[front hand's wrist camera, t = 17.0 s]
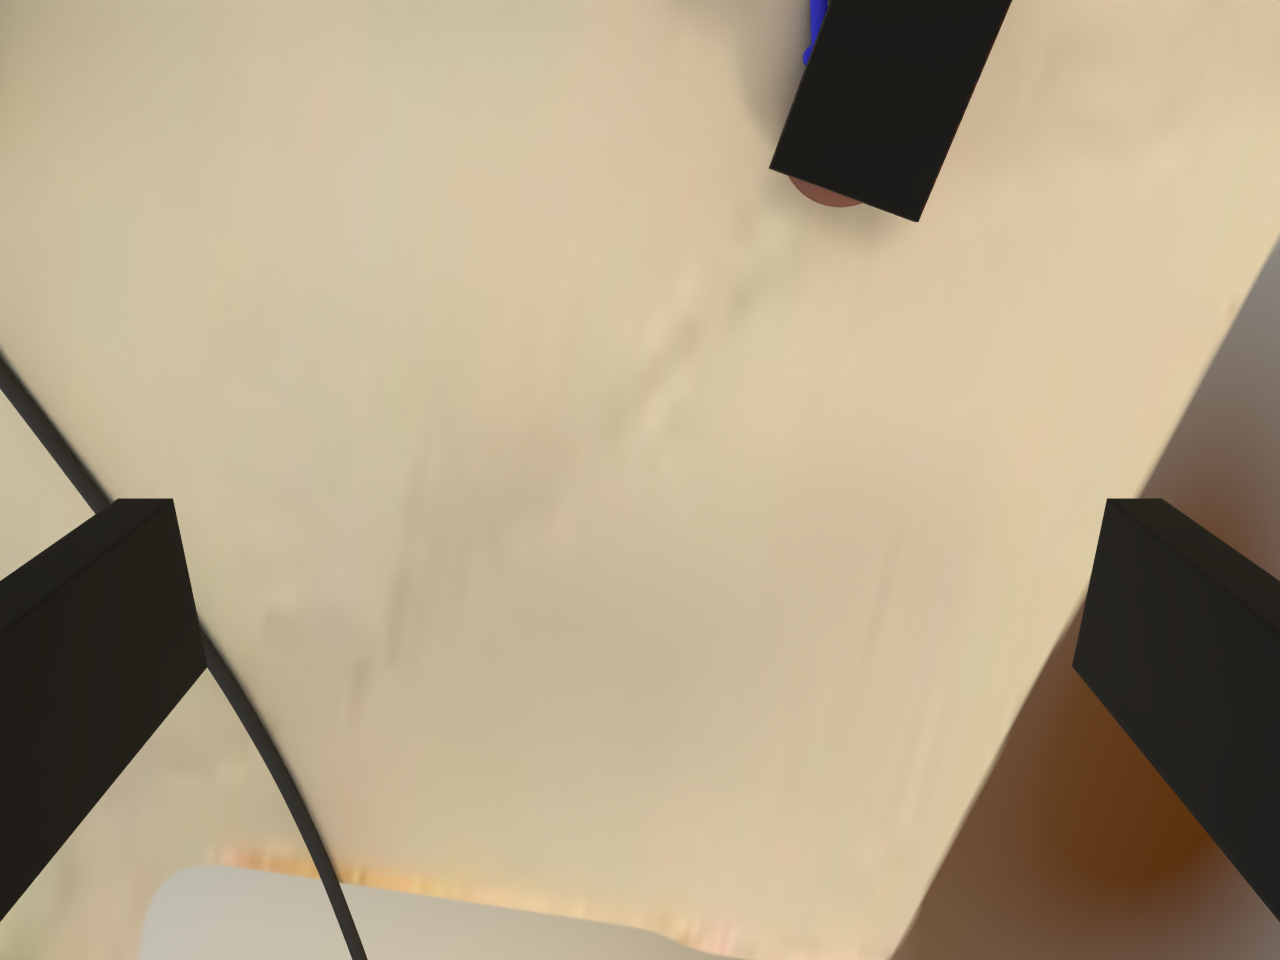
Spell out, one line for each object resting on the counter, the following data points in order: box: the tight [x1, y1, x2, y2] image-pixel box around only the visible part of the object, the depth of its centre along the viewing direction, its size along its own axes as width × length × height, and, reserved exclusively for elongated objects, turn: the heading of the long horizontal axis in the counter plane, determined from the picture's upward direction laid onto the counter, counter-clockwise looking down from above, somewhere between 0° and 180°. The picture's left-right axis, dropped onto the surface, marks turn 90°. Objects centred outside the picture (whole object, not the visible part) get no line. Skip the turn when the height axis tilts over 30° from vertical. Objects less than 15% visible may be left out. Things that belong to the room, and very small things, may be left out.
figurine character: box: [769, 0, 1012, 222], centre depth 34 cm, size 7×8×15 cm
